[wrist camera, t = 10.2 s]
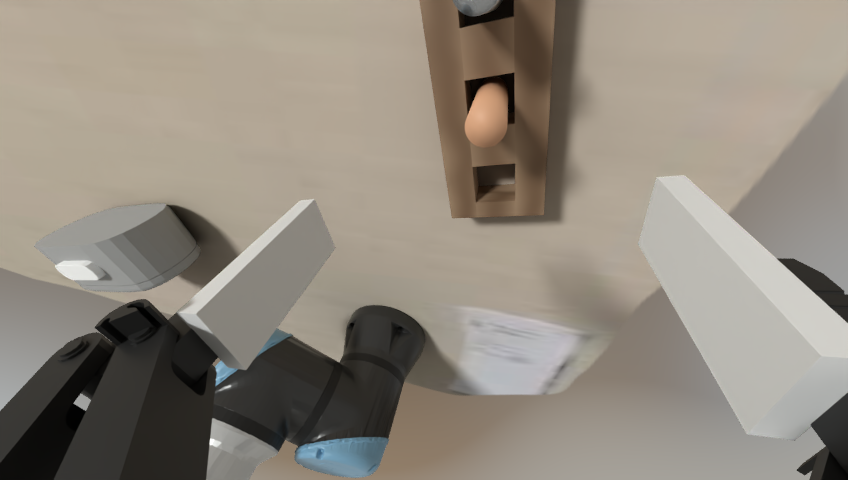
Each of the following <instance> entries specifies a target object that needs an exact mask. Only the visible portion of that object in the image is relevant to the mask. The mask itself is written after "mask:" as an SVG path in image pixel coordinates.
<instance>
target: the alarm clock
mask: <svg viewBox="0 0 848 480" xmlns="http://www.w3.org/2000/svg"><path fill="white" fill-rule="evenodd" d="M34 247H36V248H37V249H38V250H39V251H40V252H41V253H43V254H44V255H45V256H46V257H47V258H48V259H50V260H51V261H52V262H53V263H54V264H55V265H56V266H55V267H56V268H57V270H58V271H59V272H60V273H62V274H63V275H64V276H66V277H67V278H69V279H72V280H74V281H75V282H77V283H78V284H79V285H80V286H81V287H82V288H84V289H87V290H91V291H106V292H137V291H146V290H149V289H152V288H155V287H157V286H159V285H161V284H163V283H165V282H167V281H169V280H171V279H172V278H174V277H175V276H177V275H178V274H180V273H181V272H183V271H184V270H185V269H187V268H188V267H189V266H190V265H191V264H192V263H193V262H194V261H195V260H196V259H197V258H198V257H199V255H200V252H201V250H200V248H199V246H198V245H197V243H196V240H195V239H194V238H193V236H192V235H191V234H190V232H189V231H188V230H187V229H186V227H185V226H184V225H183V223H182V222H181V221H180V220H179V218H178V217H177V216H176V214H175V213H174V212H173V211H172V209H171V208H170V207H169V206H167V205H166V204H165V203H158V204H145V205H135V206H125V207H118V208H112V209H107V210H104V211H101V212H97V213H95V214H92V215H89V216H87V217H84V218H82V219H80V220H77V221H75V222H73V223H71V224H68V225H66V226H64V227H62V228H60V229H58V230H56V231H54V232H52V233H51V234H49V235H47V236H45V237H44V238H42V239H41V240H39V241H38V242H36V244H35V246H34Z"/></svg>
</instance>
